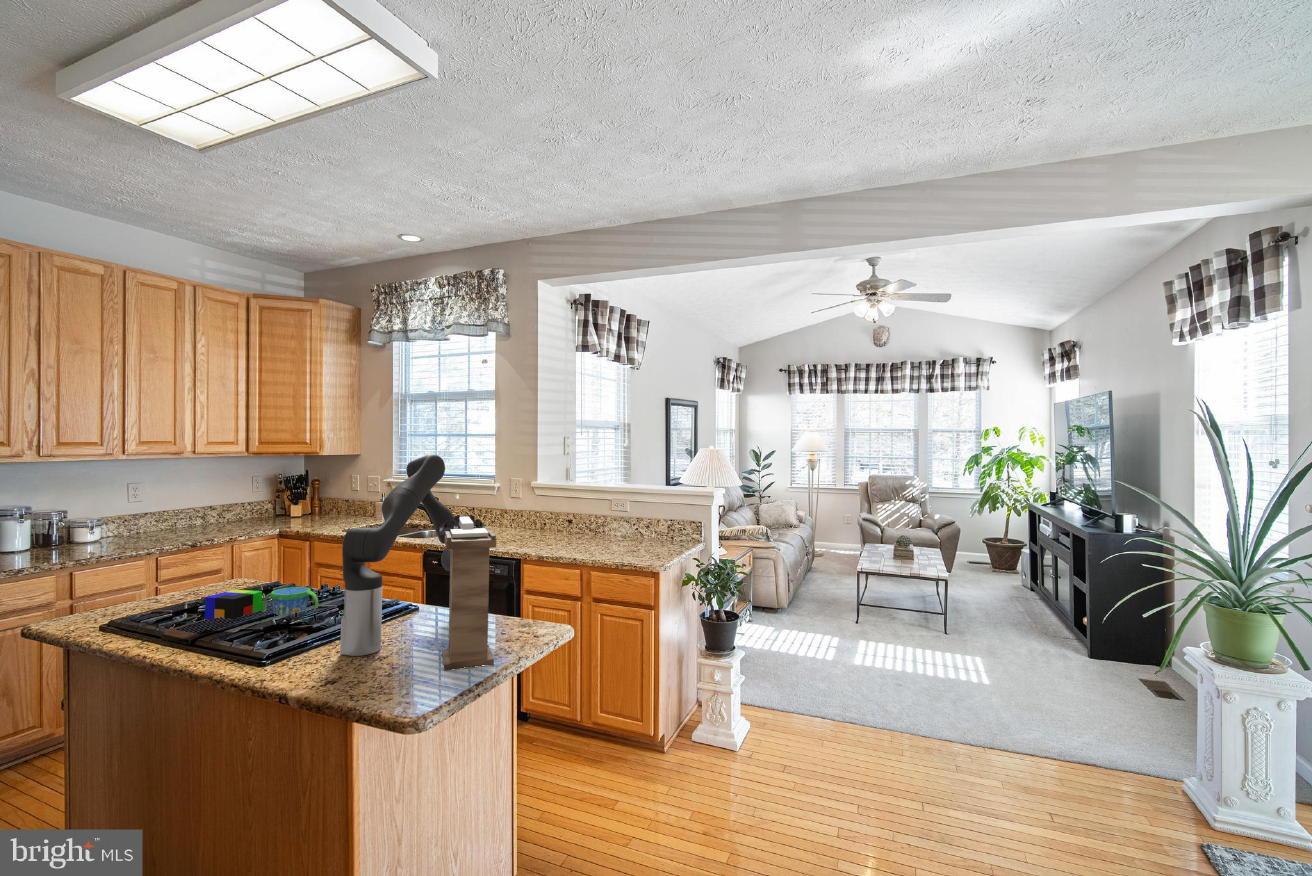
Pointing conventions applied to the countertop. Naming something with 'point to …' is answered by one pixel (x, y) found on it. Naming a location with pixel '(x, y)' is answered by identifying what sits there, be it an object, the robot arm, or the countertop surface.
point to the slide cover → (467, 529)
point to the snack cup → (289, 600)
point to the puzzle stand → (468, 601)
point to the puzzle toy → (233, 604)
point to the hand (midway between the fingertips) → (464, 517)
